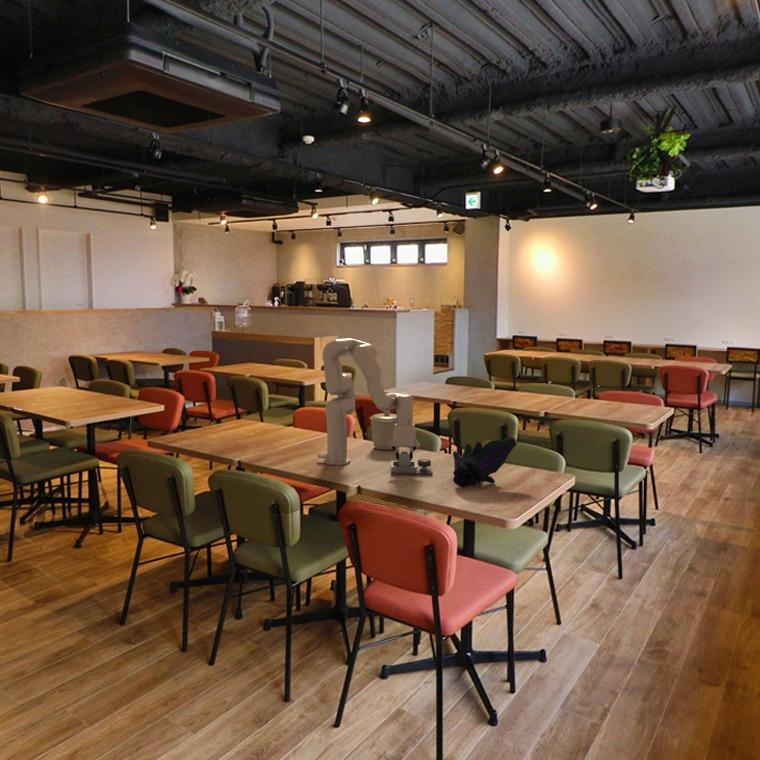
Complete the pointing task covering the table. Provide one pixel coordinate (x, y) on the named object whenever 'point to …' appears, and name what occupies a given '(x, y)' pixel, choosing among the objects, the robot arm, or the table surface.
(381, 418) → the canister
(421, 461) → the wheel
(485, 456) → the decorative plant
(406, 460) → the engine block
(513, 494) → the table surface
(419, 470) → the chassis
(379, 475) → the table surface
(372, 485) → the table surface
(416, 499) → the table surface
